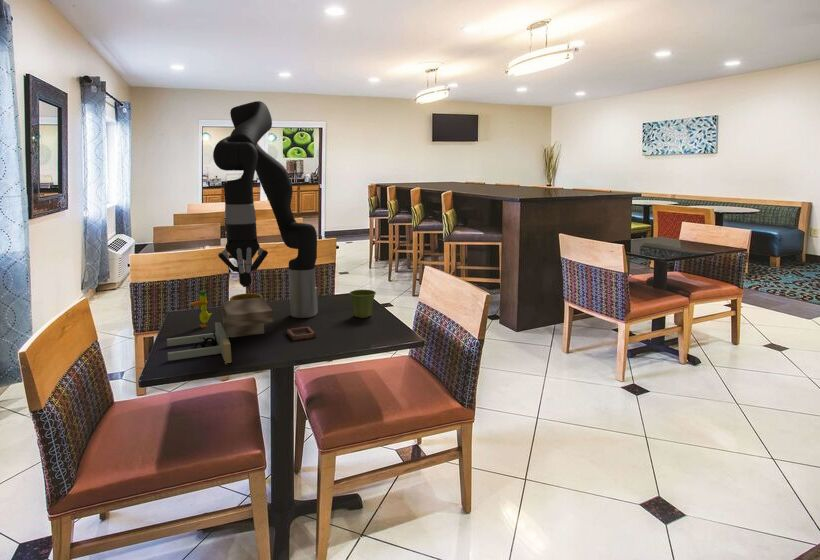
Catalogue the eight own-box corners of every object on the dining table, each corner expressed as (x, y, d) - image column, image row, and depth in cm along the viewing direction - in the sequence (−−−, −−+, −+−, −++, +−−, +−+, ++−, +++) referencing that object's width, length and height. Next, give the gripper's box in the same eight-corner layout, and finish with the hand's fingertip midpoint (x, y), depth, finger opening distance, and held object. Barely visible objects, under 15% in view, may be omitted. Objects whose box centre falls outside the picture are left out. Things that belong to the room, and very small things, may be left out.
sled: (221, 338, 153) (220, 321, 152) (231, 363, 133) (230, 343, 132) (167, 345, 147) (165, 327, 146) (169, 373, 126) (167, 352, 125)
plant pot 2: (378, 318, 177) (377, 294, 175) (351, 320, 175) (351, 296, 173) (373, 311, 186) (373, 289, 184) (348, 313, 184) (347, 290, 182)
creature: (192, 361, 139) (221, 351, 141) (186, 343, 137) (215, 334, 140) (191, 352, 146) (219, 343, 148) (185, 335, 144) (213, 326, 147)
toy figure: (193, 329, 163) (190, 294, 160) (190, 327, 165) (187, 292, 163) (214, 326, 167) (212, 291, 164) (211, 323, 169) (209, 289, 167)
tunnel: (263, 332, 161) (261, 297, 158) (274, 348, 145) (272, 310, 143) (224, 337, 155) (221, 301, 153) (231, 354, 140) (228, 315, 138)
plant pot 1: (259, 329, 164) (258, 300, 162) (227, 329, 163) (225, 300, 161) (266, 320, 174) (265, 293, 172) (236, 320, 173) (234, 293, 171)
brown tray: (308, 330, 162) (308, 326, 162) (315, 337, 156) (315, 333, 155) (287, 333, 159) (287, 329, 159) (293, 340, 152) (293, 336, 152)
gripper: (264, 219, 136) (267, 281, 139) (212, 221, 130) (217, 286, 133) (269, 221, 129) (273, 286, 133) (215, 224, 123) (221, 292, 127)
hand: (245, 286), depth 133 cm, fingers closed
